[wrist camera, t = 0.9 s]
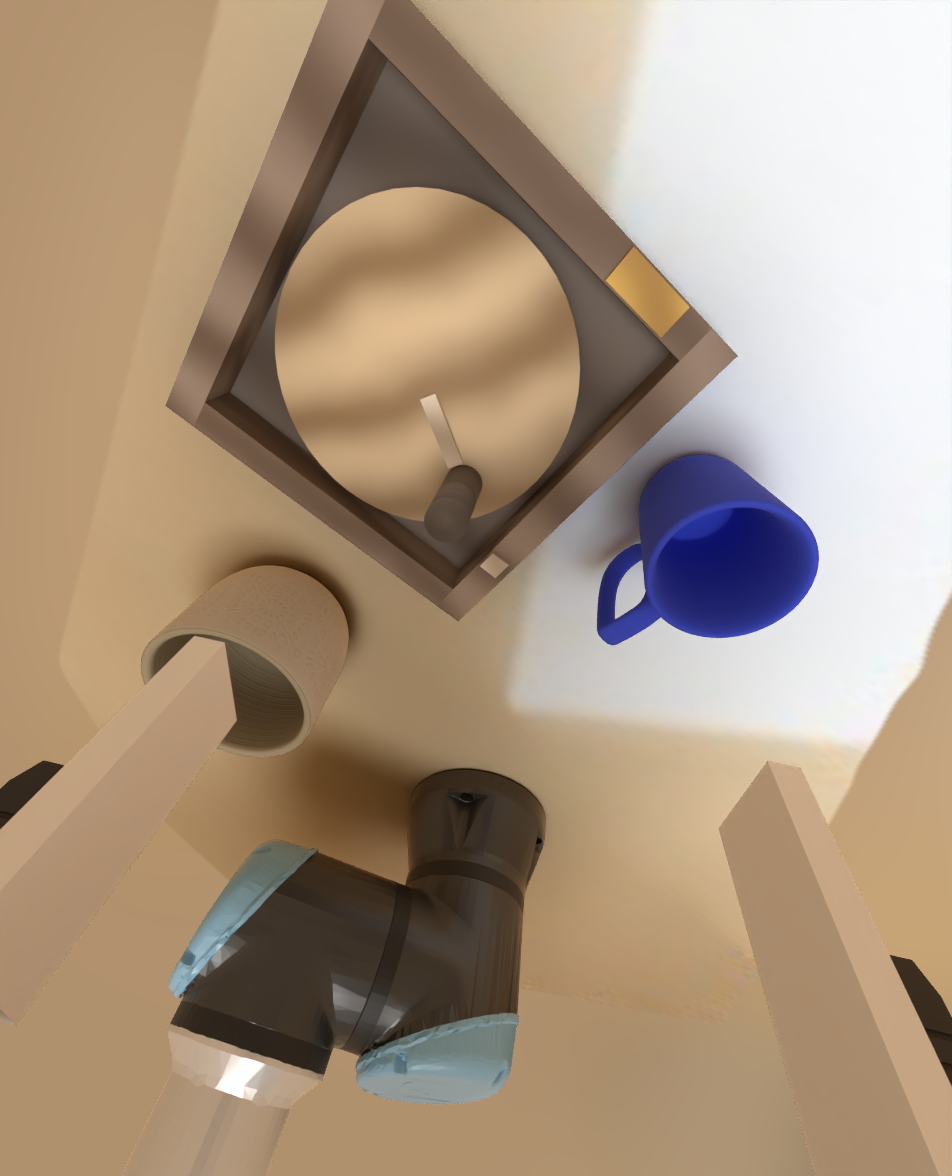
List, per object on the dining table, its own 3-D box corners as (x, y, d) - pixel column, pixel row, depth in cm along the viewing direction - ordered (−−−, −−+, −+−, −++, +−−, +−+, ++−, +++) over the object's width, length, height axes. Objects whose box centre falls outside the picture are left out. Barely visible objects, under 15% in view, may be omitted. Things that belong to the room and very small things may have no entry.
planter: (198, 574, 44) (103, 655, 35) (309, 527, 40) (233, 605, 31) (283, 677, 50) (219, 770, 41) (389, 644, 45) (344, 740, 36)
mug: (559, 529, 37) (556, 608, 29) (709, 410, 31) (761, 465, 23) (630, 601, 39) (646, 693, 31) (781, 502, 33) (853, 582, 25)
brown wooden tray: (465, 595, 41) (457, 623, 38) (198, 393, 35) (162, 406, 32) (720, 346, 29) (739, 356, 26) (379, -22, 23) (350, -66, 20)
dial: (237, 277, 30) (139, 281, 23) (524, 122, 25) (507, 67, 18) (373, 536, 39) (330, 596, 32) (611, 463, 33) (622, 518, 26)
